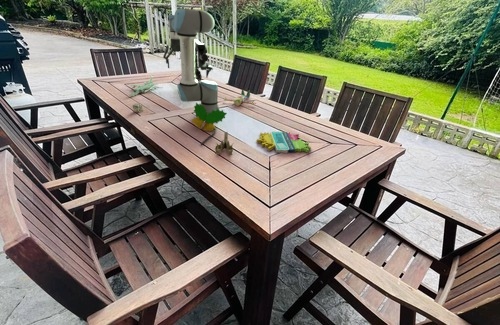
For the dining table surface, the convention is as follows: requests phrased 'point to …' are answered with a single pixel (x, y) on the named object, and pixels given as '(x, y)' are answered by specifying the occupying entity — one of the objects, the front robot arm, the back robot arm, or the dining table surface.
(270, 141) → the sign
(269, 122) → the dining table surface
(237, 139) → the dining table surface
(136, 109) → the block
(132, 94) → the airplane
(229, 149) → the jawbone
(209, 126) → the ornament
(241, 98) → the toy
